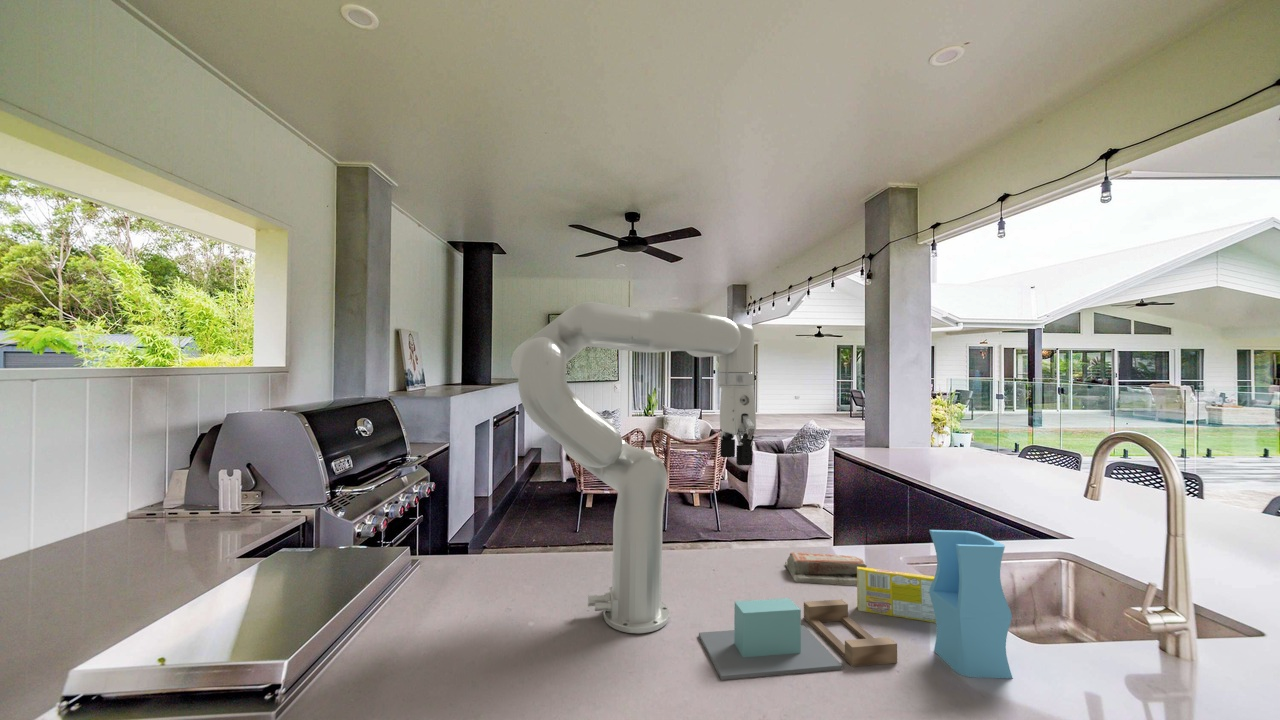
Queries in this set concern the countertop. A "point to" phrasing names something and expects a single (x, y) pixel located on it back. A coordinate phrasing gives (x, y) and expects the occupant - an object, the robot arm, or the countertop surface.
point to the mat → (766, 657)
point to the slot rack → (858, 649)
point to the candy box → (895, 594)
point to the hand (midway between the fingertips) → (735, 460)
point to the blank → (767, 627)
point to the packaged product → (824, 568)
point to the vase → (970, 604)
